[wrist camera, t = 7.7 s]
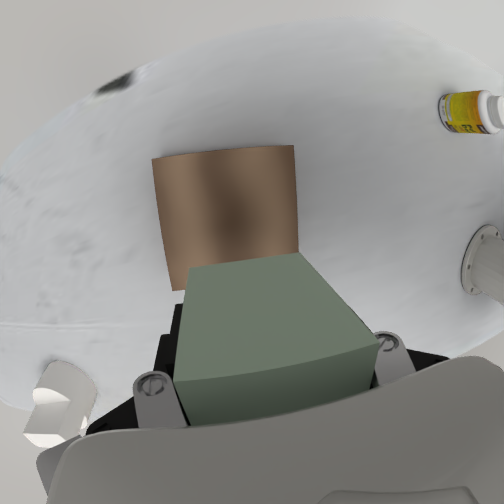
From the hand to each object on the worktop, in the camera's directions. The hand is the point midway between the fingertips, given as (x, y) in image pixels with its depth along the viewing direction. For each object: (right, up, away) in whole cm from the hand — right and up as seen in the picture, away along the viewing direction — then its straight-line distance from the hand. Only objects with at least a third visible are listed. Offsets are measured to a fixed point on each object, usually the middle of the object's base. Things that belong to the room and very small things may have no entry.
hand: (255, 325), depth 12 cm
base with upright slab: (-28, -17, +20) cm, 38 cm away
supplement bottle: (+27, +22, +15) cm, 38 cm away
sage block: (0, 0, +1) cm, 2 cm away
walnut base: (-3, +7, +16) cm, 18 cm away
